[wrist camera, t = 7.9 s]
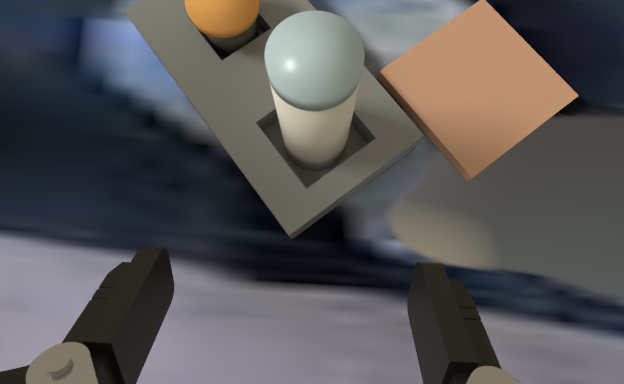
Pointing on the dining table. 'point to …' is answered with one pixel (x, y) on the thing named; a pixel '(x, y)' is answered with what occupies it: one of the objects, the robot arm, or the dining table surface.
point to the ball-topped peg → (314, 84)
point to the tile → (475, 88)
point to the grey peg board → (272, 113)
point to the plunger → (225, 22)
